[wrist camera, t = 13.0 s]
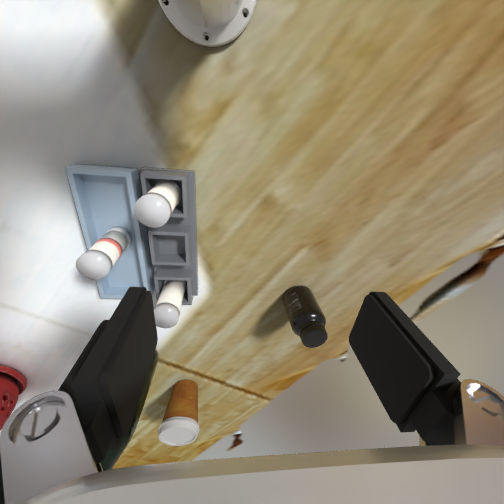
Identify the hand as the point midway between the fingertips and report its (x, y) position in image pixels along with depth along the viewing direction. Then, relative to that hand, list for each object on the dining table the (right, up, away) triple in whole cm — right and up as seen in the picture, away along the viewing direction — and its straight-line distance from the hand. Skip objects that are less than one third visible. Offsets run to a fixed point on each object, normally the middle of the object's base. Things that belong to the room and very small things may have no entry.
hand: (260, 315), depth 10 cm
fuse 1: (-14, +13, +28) cm, 34 cm away
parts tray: (-24, +6, +33) cm, 41 cm away
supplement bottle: (+10, -7, +43) cm, 45 cm away
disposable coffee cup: (-19, -34, +55) cm, 68 cm away
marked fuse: (-24, +5, +32) cm, 40 cm away
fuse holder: (-15, +5, +34) cm, 37 cm away
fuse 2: (-15, -3, +37) cm, 40 cm away
